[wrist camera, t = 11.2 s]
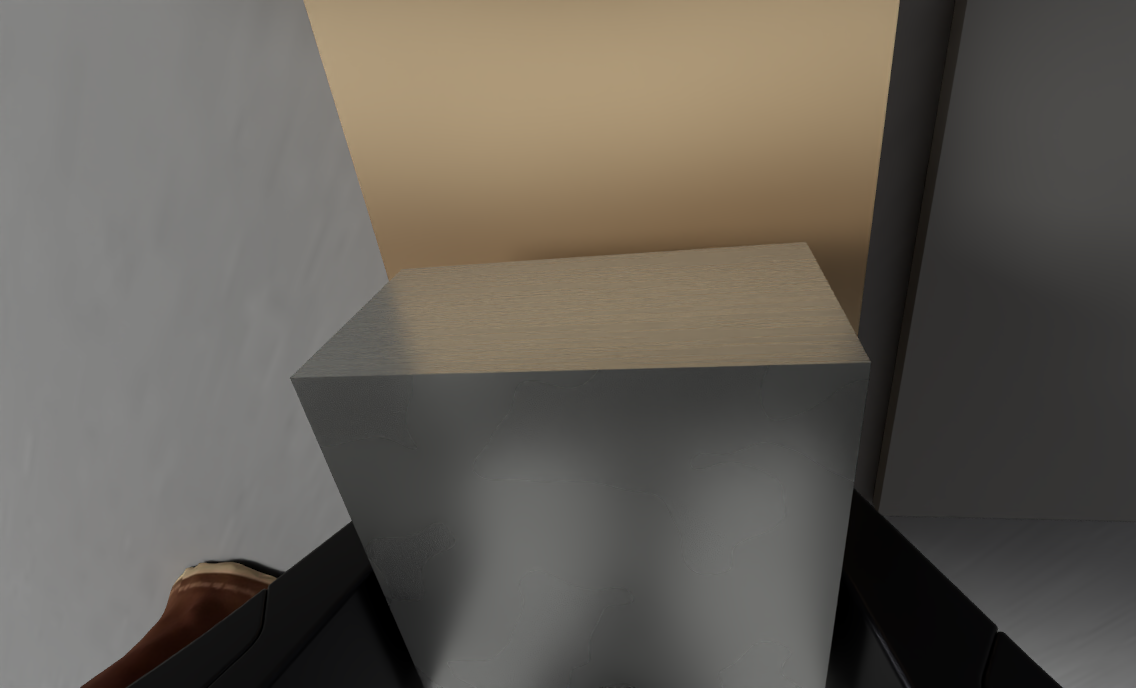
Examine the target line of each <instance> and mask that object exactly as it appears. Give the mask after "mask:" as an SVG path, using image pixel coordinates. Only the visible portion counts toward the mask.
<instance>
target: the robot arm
mask: <svg viewBox="0 0 1136 688" xmlns="http://www.w3.org/2000/svg"><path fill="white" fill-rule="evenodd" d="M997 631H998V627H997V626H996V625H995V624H994V623H993V622H992V621H991V620H990V619H989V618H988V617H987V616H986V615H985V614H984V613H983V612H982V611H981V610H980V609H979V608H978V607H977V606H976V605H975V604H974V603H973V602H971V601H970V600H969V599H968V598H967V597H966V596H965V595H964V594H963V593H962V592H961V591H960V590H959V589H958V588H957V587H956V586H955V585H954V584H953V583H952V582H951V581H950V580H949V579H948V578H947V577H946V576H945V575H943V574H942V573H941V572H940V571H939V570H938V569H937V568H936V567H935V566H934V565H933V564H932V563H931V562H930V561H929V560H928V559H927V558H926V557H925V556H924V555H923V554H922V553H921V552H920V551H919V550H918V549H917V548H915V547H914V546H913V545H912V544H911V543H910V542H909V541H908V540H907V539H906V538H905V537H904V536H903V535H902V534H901V533H900V532H899V531H898V530H897V529H896V528H895V527H894V526H893V525H892V524H891V523H890V522H889V521H887V520H886V519H885V518H884V517H883V516H882V515H881V514H880V513H879V512H878V511H877V510H876V509H875V508H874V507H873V506H872V505H871V504H870V503H869V502H868V501H867V500H866V499H865V498H864V497H863V496H862V495H861V494H859V493H858V492H857V491H856V490H855V489H854V488H853V494H852V501H851V508H850V515H849V522H848V529H847V536H846V543H845V550H844V558H843V565H842V572H841V579H840V586H839V593H838V600H837V607H836V614H835V621H834V628H833V635H832V642H831V649H830V656H829V663H828V670H827V677H826V685H825V688H1062V687H1061V686H1060V685H1059V684H1058V683H1057V682H1056V681H1055V680H1054V679H1053V678H1052V677H1050V676H1049V675H1048V674H1047V673H1046V672H1045V671H1044V670H1043V669H1042V668H1041V667H1040V666H1039V665H1037V664H1036V663H1035V662H1034V661H1033V660H1032V659H1031V658H1030V657H1029V656H1028V655H1027V654H1026V653H1025V652H1024V651H1023V650H1022V649H1021V648H1020V647H1019V646H1018V645H1016V644H1015V643H1014V642H1013V641H1012V640H1011V639H1010V638H1009V637H1008V636H1007V635H1006V634H1005V633H1004V632H998V633H997ZM126 688H424V686H423V683H422V681H421V679H420V677H419V674H418V672H417V670H416V667H415V665H414V663H413V660H412V658H411V656H410V653H409V651H408V649H407V647H406V644H405V642H404V640H403V637H402V635H401V633H400V630H399V628H398V626H397V623H396V621H395V619H394V616H393V614H392V612H391V610H390V607H389V605H388V603H387V600H386V598H385V596H384V593H383V591H382V589H381V586H380V584H379V582H378V580H377V577H376V575H375V573H374V570H373V568H372V566H371V563H370V561H369V559H368V556H367V554H366V552H365V550H364V547H363V545H362V543H361V540H360V538H359V536H358V533H357V531H356V529H355V526H354V524H353V522H352V521H351V522H350V523H349V524H347V525H346V526H345V527H343V528H342V529H341V530H339V531H338V532H337V533H336V534H334V535H333V536H332V537H330V538H329V539H328V540H326V541H325V542H324V543H323V544H321V545H320V546H319V547H317V548H316V549H315V550H314V551H312V552H311V553H310V554H308V555H307V556H306V557H304V558H303V559H302V560H301V561H299V562H298V563H297V564H295V565H294V566H293V567H291V568H290V569H289V570H288V571H286V572H285V573H284V574H282V575H281V576H280V577H278V578H277V579H276V580H275V581H273V582H272V583H271V584H270V585H269V586H268V590H267V589H263V590H261V591H260V592H259V593H258V594H256V595H255V596H254V597H252V598H251V599H250V600H248V601H247V602H246V603H245V604H243V605H242V606H241V607H239V608H238V609H237V610H235V611H234V612H233V613H231V614H230V615H229V616H227V617H226V618H225V619H223V620H222V621H221V622H219V623H218V624H217V625H215V626H214V627H212V628H211V629H210V630H208V631H207V632H206V633H204V634H203V635H202V636H200V637H199V638H197V639H196V640H194V641H193V642H192V643H190V644H189V645H187V646H186V647H184V648H183V649H181V650H180V651H179V652H177V653H176V654H174V655H173V656H171V657H170V658H169V659H167V660H166V661H164V662H163V663H161V664H160V665H158V666H157V667H155V668H154V669H153V670H151V671H150V672H148V673H147V674H145V675H144V676H142V677H141V678H139V679H138V680H136V681H135V682H133V683H132V684H130V685H129V686H127V687H126Z"/></svg>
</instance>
